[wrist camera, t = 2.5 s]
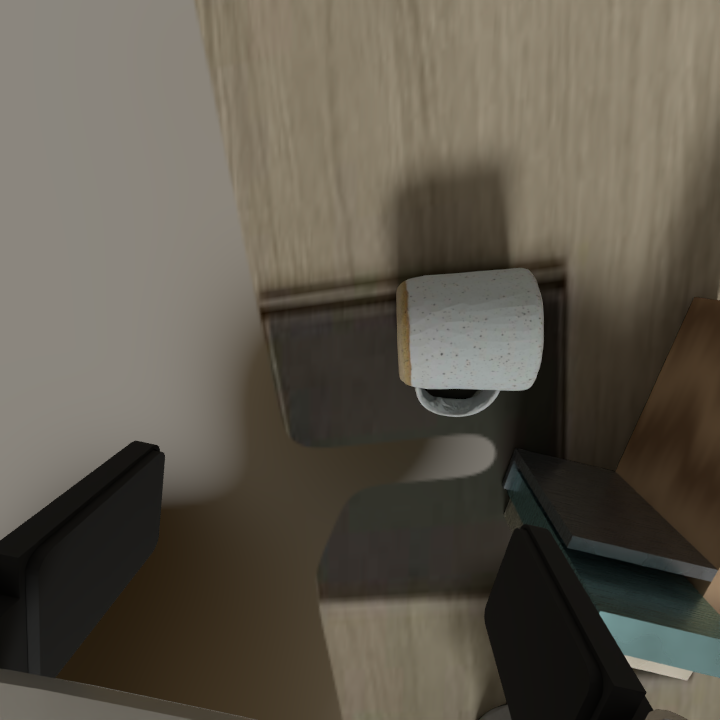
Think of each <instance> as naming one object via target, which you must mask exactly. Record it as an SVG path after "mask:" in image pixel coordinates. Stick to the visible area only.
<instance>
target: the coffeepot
mask: <svg viewBox="0 0 720 720" xmlns="http://www.w3.org/2000/svg"><path fill="white" fill-rule="evenodd" d="M479 720H511V716H510V712H509V709H508V705H503V706H499V707H497V708H494V709H492V710H490V711H489V712H487V713H486V714H484V715H483V716H482V717H481V718H480V719H479Z"/></svg>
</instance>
